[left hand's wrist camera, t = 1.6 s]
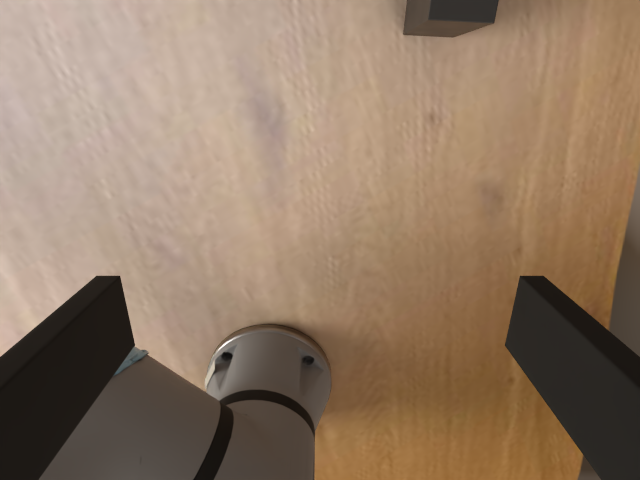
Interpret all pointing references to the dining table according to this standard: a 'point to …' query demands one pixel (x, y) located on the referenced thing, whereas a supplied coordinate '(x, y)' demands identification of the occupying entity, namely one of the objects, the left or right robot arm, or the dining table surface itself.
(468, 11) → the bar
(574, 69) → the dining table surface
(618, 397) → the left robot arm
